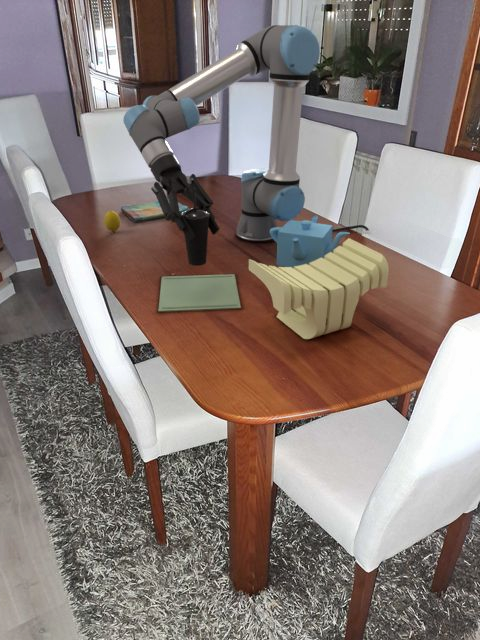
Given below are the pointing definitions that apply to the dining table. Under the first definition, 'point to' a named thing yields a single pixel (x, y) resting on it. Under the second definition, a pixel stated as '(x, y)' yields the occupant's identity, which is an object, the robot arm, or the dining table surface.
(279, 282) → the slatted curved stool
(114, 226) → the lemon
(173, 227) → the dining table surface
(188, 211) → the drinking cup
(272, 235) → the teakettle
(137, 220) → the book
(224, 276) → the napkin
